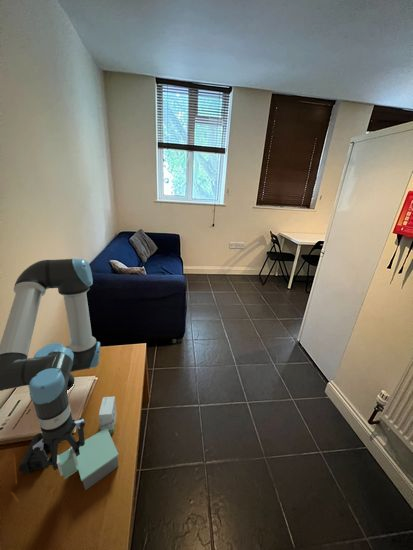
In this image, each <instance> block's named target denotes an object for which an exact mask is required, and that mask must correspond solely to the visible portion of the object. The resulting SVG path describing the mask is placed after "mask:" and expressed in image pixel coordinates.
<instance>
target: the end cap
mask: <svg viewBox="0 0 413 550" xmlns="http://www.w3.org/2000/svg"><path fill="white" fill-rule="evenodd" d="M42 436H43V434H42V432H39V433H37V434H35V435H33V437H32V439H31V442H30V444H29V446H28V448H27V450H26V452H24V453H25V454H24V456H23V458H22V460H21V461H20V464H19V465H18V471H19V472H21V473H22V474H32V473H33V472H32V471H35V470H39V469H40V470H41V469H45V468H44V466H43V464H42V462H41V460H40V458H39V456H38V455H37V454H35V453H33V446H32V445H33V443H35V442H39V441H40V440H42ZM43 445H44V447H43V448H44V450H45V453H46V452H49V451H50V452H51V445H50V444H43Z"/></svg>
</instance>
